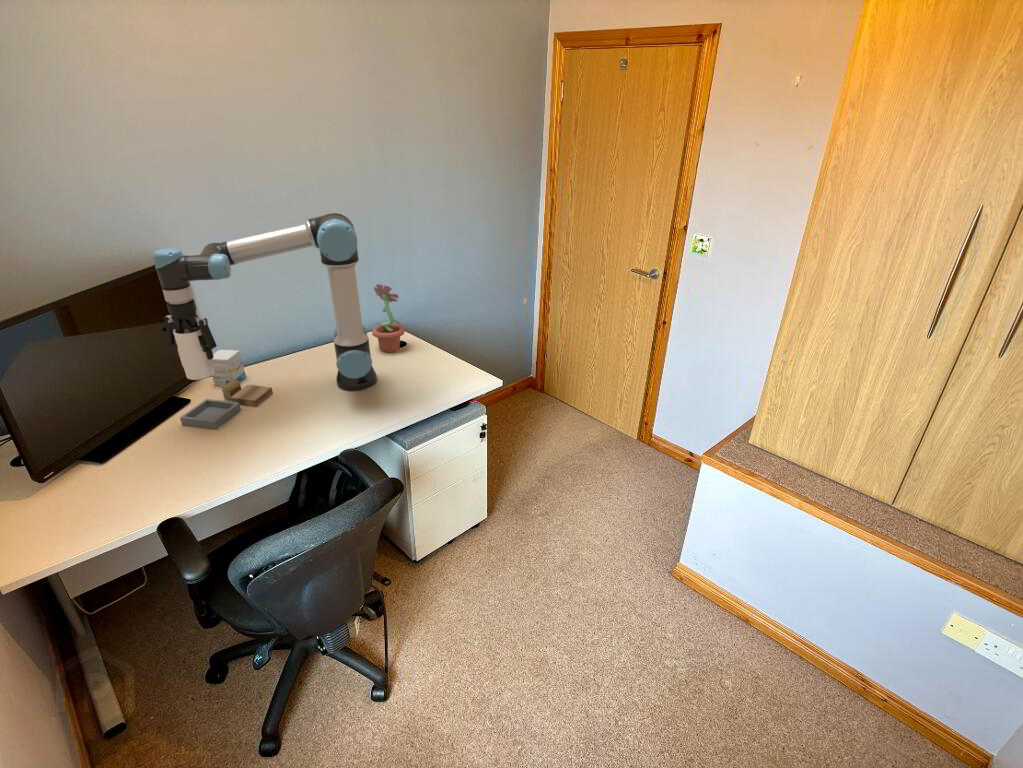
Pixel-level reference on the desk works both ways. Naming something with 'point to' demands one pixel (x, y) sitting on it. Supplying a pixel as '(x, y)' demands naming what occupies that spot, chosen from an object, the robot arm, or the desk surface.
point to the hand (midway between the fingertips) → (198, 366)
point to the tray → (210, 414)
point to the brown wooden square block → (252, 395)
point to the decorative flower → (388, 323)
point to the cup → (192, 355)
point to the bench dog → (231, 389)
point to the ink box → (227, 367)
